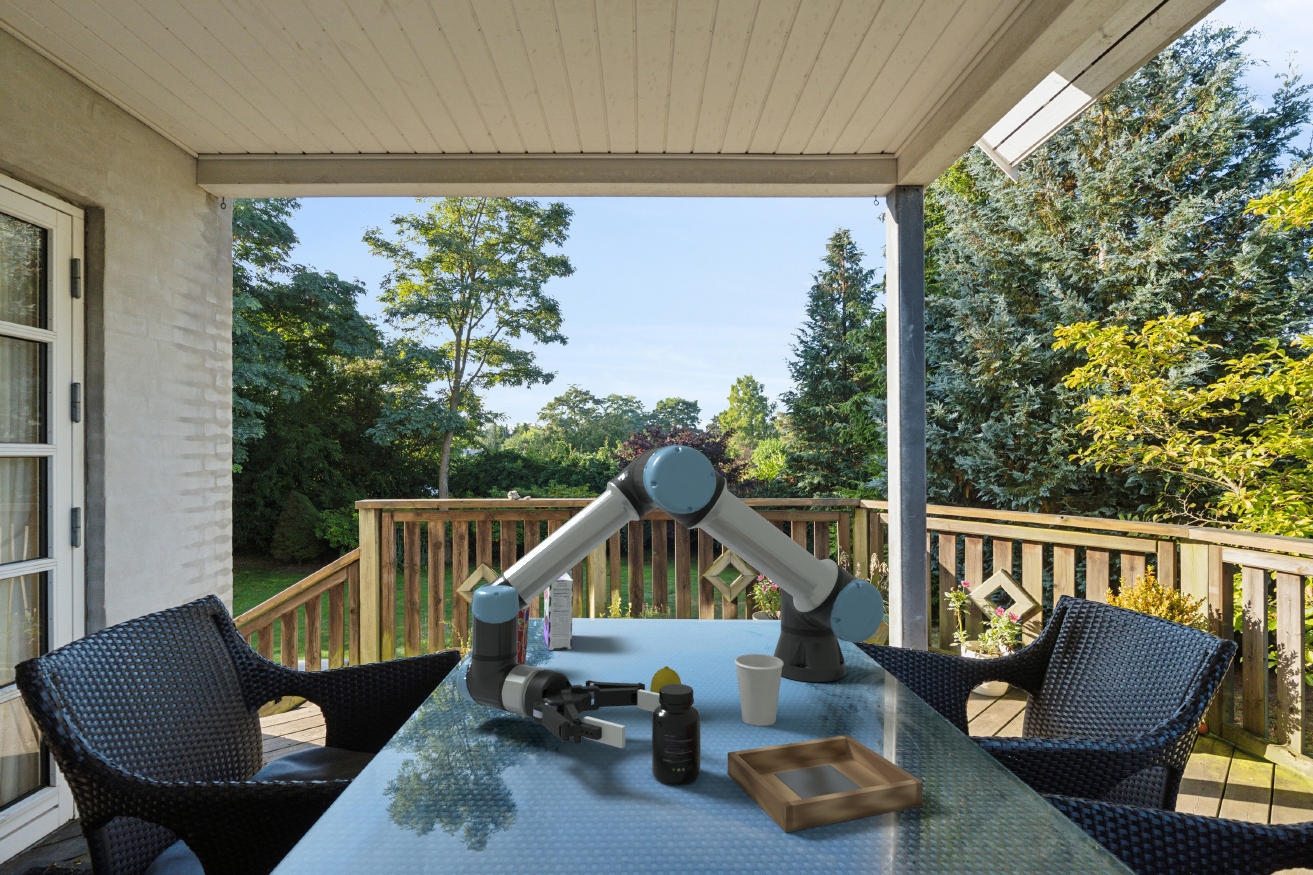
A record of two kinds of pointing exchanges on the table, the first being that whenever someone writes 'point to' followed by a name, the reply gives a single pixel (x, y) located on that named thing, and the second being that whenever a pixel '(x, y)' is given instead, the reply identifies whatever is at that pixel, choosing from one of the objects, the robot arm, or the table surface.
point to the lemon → (664, 679)
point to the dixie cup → (759, 687)
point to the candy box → (558, 614)
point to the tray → (823, 782)
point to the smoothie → (523, 633)
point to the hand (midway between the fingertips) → (651, 721)
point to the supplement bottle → (676, 736)
